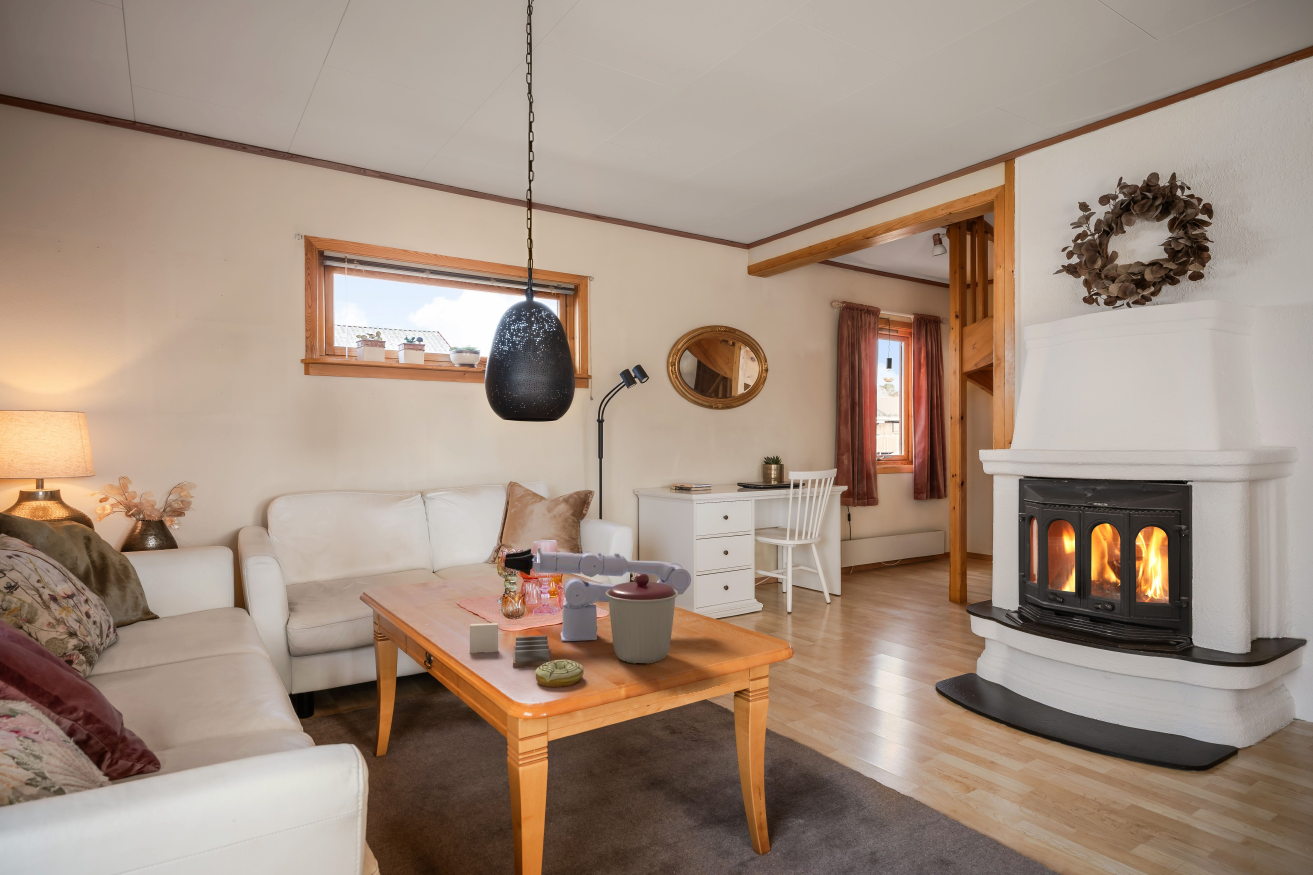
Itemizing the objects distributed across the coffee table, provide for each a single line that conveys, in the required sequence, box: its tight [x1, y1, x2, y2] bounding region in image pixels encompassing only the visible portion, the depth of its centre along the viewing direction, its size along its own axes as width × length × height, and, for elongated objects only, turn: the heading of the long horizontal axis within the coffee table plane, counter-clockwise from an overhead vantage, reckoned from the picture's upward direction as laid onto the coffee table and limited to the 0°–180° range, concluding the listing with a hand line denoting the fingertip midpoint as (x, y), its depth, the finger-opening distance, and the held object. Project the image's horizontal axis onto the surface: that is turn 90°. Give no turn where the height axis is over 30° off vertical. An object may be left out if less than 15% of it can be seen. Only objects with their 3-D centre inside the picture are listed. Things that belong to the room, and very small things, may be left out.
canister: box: [606, 573, 679, 664], centre depth 178 cm, size 18×18×21 cm
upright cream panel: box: [469, 622, 499, 654], centre depth 183 cm, size 7×2×7 cm, turn 100°
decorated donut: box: [534, 659, 585, 688], centre depth 162 cm, size 10×11×4 cm
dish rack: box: [512, 635, 552, 668], centre depth 179 cm, size 9×14×4 cm, turn 10°
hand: (504, 560), depth 193 cm, fingers open, 7 cm apart
